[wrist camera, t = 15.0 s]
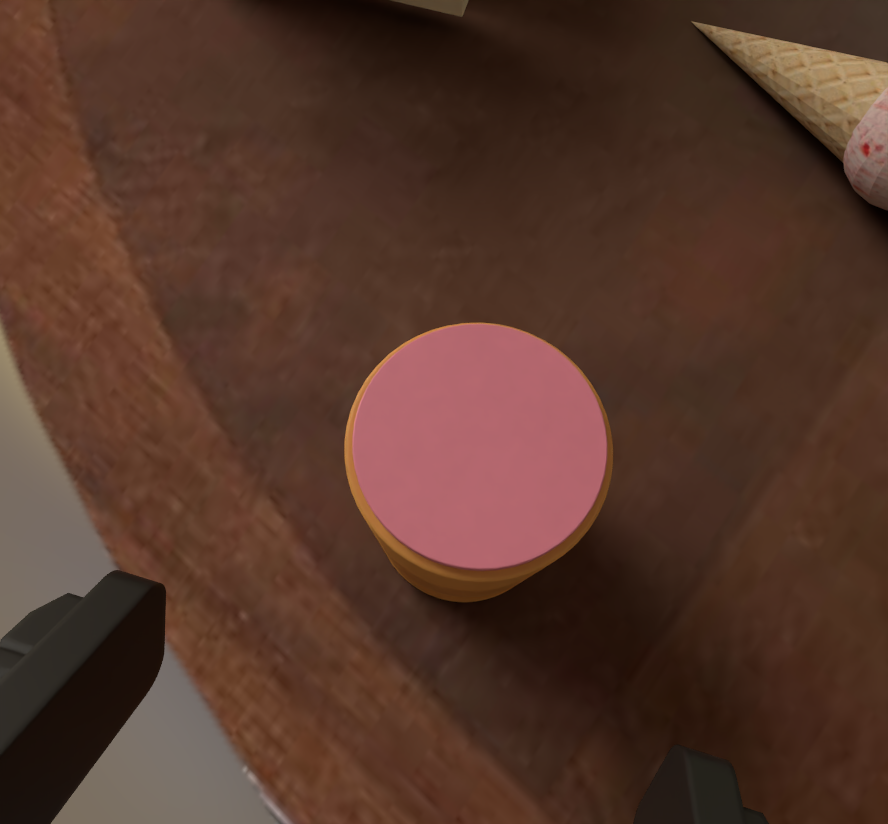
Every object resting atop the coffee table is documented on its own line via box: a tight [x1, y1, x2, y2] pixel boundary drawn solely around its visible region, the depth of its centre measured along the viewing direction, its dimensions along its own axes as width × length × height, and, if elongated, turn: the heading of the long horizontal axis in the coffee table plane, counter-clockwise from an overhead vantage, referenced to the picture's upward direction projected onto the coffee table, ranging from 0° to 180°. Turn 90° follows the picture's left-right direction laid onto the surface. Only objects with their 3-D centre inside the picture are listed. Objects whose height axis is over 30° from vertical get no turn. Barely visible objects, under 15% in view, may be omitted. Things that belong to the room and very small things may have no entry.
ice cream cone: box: [692, 22, 888, 211], centre depth 24 cm, size 5×5×15 cm
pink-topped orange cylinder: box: [345, 323, 613, 602], centre depth 17 cm, size 5×5×8 cm
